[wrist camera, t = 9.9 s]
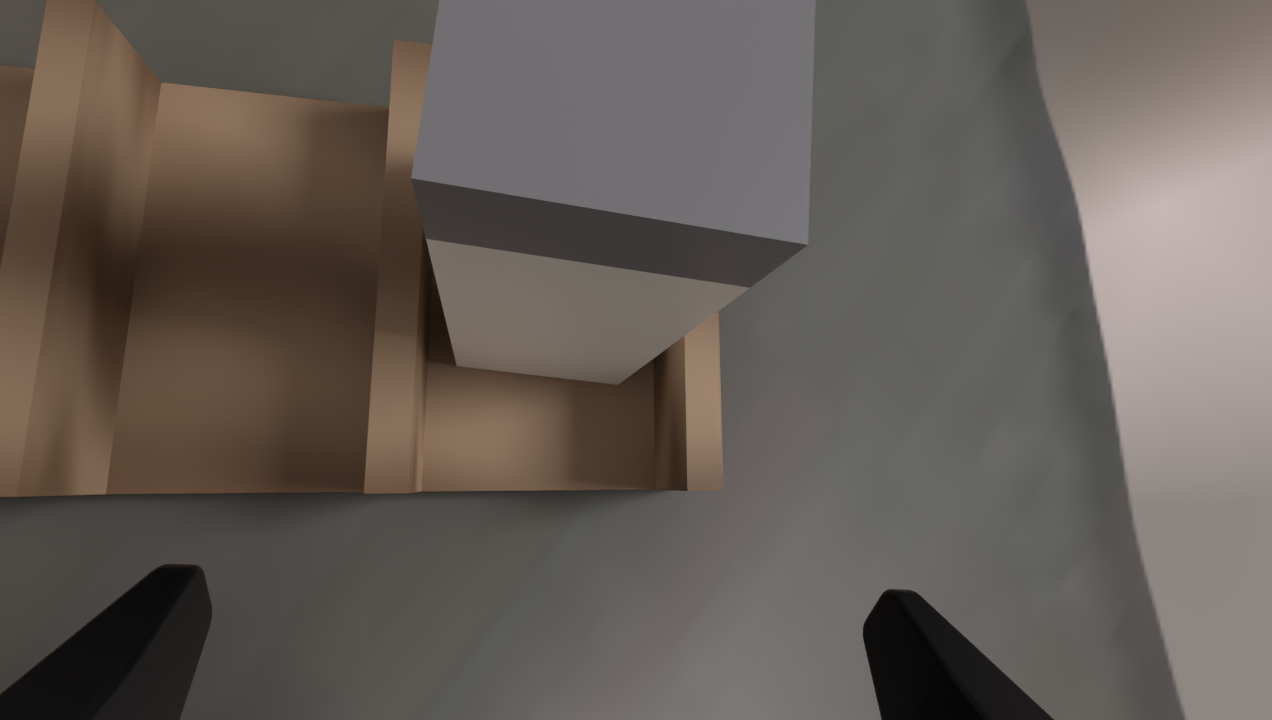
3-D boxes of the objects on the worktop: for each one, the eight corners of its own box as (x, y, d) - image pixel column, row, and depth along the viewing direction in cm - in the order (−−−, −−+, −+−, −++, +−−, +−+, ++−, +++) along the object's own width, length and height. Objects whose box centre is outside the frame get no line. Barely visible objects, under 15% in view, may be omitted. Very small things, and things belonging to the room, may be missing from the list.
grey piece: (617, 384, 21) (807, 245, 9) (457, 366, 20) (411, 178, 8) (630, 237, 22) (818, -78, 10) (477, 212, 21) (467, -175, 9)
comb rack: (676, 488, 22) (723, 490, 18) (-285, 497, 17) (-555, 502, 12) (671, 152, 24) (711, 81, 20) (-182, 64, 19) (-381, -61, 14)
